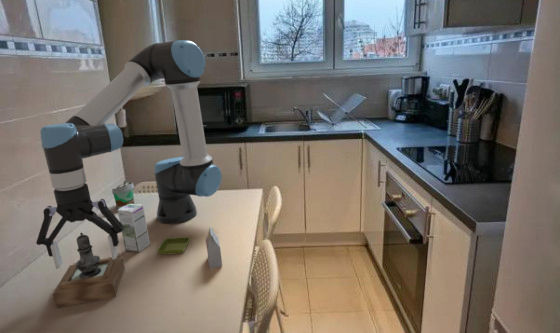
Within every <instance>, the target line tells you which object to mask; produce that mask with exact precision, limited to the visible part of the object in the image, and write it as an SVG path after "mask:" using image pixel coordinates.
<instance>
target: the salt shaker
mask: <svg viewBox="0 0 560 333" xmlns="http://www.w3.org/2000/svg"><path fill="white" fill-rule="evenodd" d="M76 244H77V252H78V254H79V260H77V261H76V262H75V263H76V264H75V265H76V267H77V268H78V269H79V270H80V271H81V273H80V275H79V277H80V278H83V279H85V278H91V277H94V276H96V275H98V274H99V273H100V272H101V268H98V265H99V260H100V259H101V258H100V256H98V255H94V253H93V245H91V241H90V237H89V236H88V235H87V234H84V233H83V232H80V234H79V235H78V236H77V238H76Z"/></svg>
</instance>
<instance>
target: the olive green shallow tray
mask: <svg viewBox="0 0 560 333" xmlns="http://www.w3.org/2000/svg"><path fill="white" fill-rule="evenodd" d="M190 240H191V237H190V236H187V237H186V236H184V237H166V238H165V239H163V241H162V242H161V244H160V246H159V247H158V249H157V250H156V252H157V253H159V254H161V255H167V254H168V255H169V254H183V253H184V251H185V250H186V248H187V246H188V244H189V242H190Z"/></svg>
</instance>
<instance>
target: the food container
mask: <svg viewBox="0 0 560 333" xmlns="http://www.w3.org/2000/svg"><path fill="white" fill-rule="evenodd" d="M134 188H135V185H134V183H133V182H132V181H131V180H124V181H123V183H122V184H120V185H118V186H117V187H116V188H112V189H111V192H112V195H113V198H114V202H115V206H116V210H117V211H118V209H120V208H121V207H123V206H125V205H127V204H135V198H134V197H135V196H134Z"/></svg>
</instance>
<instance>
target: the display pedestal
mask: <svg viewBox="0 0 560 333" xmlns="http://www.w3.org/2000/svg"><path fill="white" fill-rule="evenodd" d="M75 264H76V262H74V263H72V264H71V265H69V266H68V268H67V270H66V271H65V272H64V274H63V276H62V278H61V279H60V281H59V283H58V284H57V285H56V287H55V289H54V291H53V292H52V298H53V302H54V305H55V309H56V308H62V307H69V306H74V305H78V304H84V303H88V302H89V303H90V302H95V301H100V300H101V301H102V300H106V299H111V298H116V297H117V294H118V291H119V290H120V289H119V288H120V286H121V283H122V279H123V276H124V273H125V270H126V268H125V262H124V257H123V256H118V257H116V259H113V260H112V256H109V257H103V258H100V260H99V265H98V268H101V272H100V273H99V274H98V275H96V276H94V277H91V278H85V279H83V278H80V277H79V275H80V273H81V271H80V270H79V269H78V268H77V267H76V265H75Z"/></svg>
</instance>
